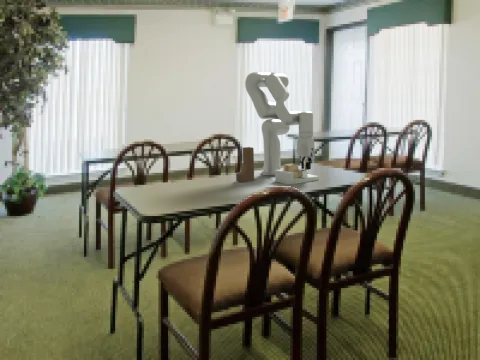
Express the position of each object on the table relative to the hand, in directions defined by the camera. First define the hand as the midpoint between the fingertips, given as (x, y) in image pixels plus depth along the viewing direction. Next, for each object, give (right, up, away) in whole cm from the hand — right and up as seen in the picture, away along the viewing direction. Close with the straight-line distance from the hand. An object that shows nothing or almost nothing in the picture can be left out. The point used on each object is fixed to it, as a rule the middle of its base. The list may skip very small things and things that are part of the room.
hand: (306, 168), depth 263 cm
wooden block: (-33, -7, 0) cm, 34 cm away
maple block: (-9, -5, -5) cm, 11 cm away
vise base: (-5, -6, -2) cm, 8 cm away
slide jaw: (-2, -4, -1) cm, 5 cm away
